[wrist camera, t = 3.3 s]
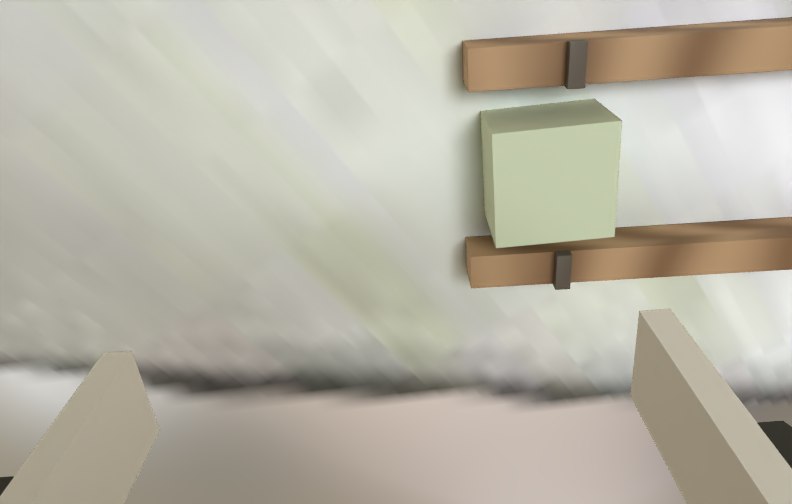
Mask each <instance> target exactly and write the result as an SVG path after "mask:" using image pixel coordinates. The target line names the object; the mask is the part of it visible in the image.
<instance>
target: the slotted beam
mask: <svg viewBox="0 0 792 504" xmlns="http://www.w3.org/2000/svg"><path fill="white" fill-rule="evenodd" d="M781 70H792V17H789V18H775V19H761V20H747V21H733V22H719V23H705V24H691V25H677V26H663V27H649V28H635V29H621V30H607V31H593V32H579V33H565V34H551V35H537V36H523V37H509V38H495V39H481V40H467V41H463V82H464V84H465V86H466V88H467V90H468V92H476V91H490V90H505V89H519V88H534V87H548V86H563V85H565V87H566V88H567V89H578V88H585V84H592V83H606V82H621V81H636V80H650V79H665V78H679V77H694V76H708V75H723V74H737V73H752V72H766V71H781ZM466 268H467V272H468V277H469V281H470V286H471V288H484V287H501V286H518V285H535V284H552V283H553V286H554V288H555V290H559V289H570V282H586V281H603V280H620V279H637V278H653V277H670V276H687V275H704V274H721V273H738V272H755V271H772V270H789V269H792V217H784V218H768V219H752V220H735V221H719V222H703V223H687V224H671V225H654V226H638V227H622V228H615V237H608V238H598V239H587V240H577V241H567V242H556V243H546V244H535V245H525V246H514V247H504V248H496V247H495V244H494V241H493V237H492V236H476V237H466Z"/></svg>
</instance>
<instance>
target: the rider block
mask: <svg viewBox="0 0 792 504" xmlns="http://www.w3.org/2000/svg"><path fill="white" fill-rule="evenodd" d="M480 114H481V137H482V160H483V183H484V206H485V216H486V219H487V222H488V225H489V228H490V231H491V234H492V237H493V241H494V244H495V247H496V248H504V247H514V246H525V245H535V244H546V243H556V242H567V241H577V240H587V239H598V238H608V237H615V223H616V207H617V191H618V176H619V160H620V145H621V129H622V120H621V119H619V118H618V117H617V116H616V115H614V114H613V113H612V112H611V111H609V110H608V109H607V108H606V107H604V106H603V105H602V104H601V103H599V102H598V101H597V100H596V99H587V100H578V101H568V102H559V103H550V104H540V105H531V106H522V107H512V108H503V109H494V110H484V111H480Z"/></svg>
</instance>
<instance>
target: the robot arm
mask: <svg viewBox="0 0 792 504" xmlns="http://www.w3.org/2000/svg"><path fill="white" fill-rule="evenodd" d="M631 398H632V400H633V402H634V404H635V406H636V408H637V410H638V412H639V413H640V415H641V417H642V419H643V421H644V423H645V425H646V427H647V429H648V431H649V433H650V434H651V436H652V438H653V440H654V442H655V444H656V446H657V448H658V450H659V451H660V453H661V455H662V457H663V459H664V461H665V463H666V465H667V467H668V469H669V471H670V473H671V475H672V477H673V478H674V480H675V482H676V484H677V486H678V488H679V490H680V492H681V494H682V496H683V498H684V499H685V501H686V503H687V504H792V427H791V426H790V425H788V424H787V423H785V422H784V421H773V422H759V423H757V422H756V421H755V420H754V419H753V417H752V416H751V414H750V413H749V412H748V411H747V409H746V408H745V407H744V405H743V404H742V403H741V401H740V400H739V399H738V397H737V396H736V395H735V393H734V392H733V391H732V389H731V388H730V387H729V385H728V384H727V383H726V382H725V380H724V379H723V378H722V376H721V375H720V374H719V372H718V371H717V370H716V368H715V367H714V366H713V364H712V363H711V362H710V360H709V359H708V358H707V356H706V355H705V354H704V353H703V351H702V350H701V349H700V347H699V346H698V345H697V343H696V342H695V341H694V339H693V338H692V337H691V335H690V334H689V333H688V331H687V330H686V329H685V328H684V326H683V325H682V324H681V322H680V321H679V320H678V318H677V317H676V316H675V314H674V313H673V312H672V310H671V309H658V310H645V311H639V319H638V329H637V338H636V348H635V357H634V367H633V377H632V386H631ZM159 431H160V430H159V427H158V424H157V421H156V418H155V415H154V413H153V410H152V407H151V404H150V401H149V398H148V396H147V393H146V390H145V387H144V384H143V382H142V379H141V376H140V373H139V370H138V367H137V365H136V362H135V359H134V356H133V353H132V351H122V352H109V353H103V354H102V355H101V357H100V358H99V359H98V361H97V362H96V363H95V365H94V366H93V368H92V369H91V370H90V372H89V373H88V375H87V376H86V377H85V379H84V380H83V382H82V383H81V384H80V386H79V387H78V389H77V390H76V391H75V393H74V394H73V396H72V397H71V398H70V400H69V401H68V403H67V404H66V405H65V407H64V408H63V409H62V411H61V412H60V414H59V415H58V417H57V418H56V419H55V421H54V422H53V423H52V425H51V426H50V428H49V429H48V430H47V432H46V433H45V435H44V436H43V437H42V439H41V440H40V441H39V443H38V444H37V446H36V447H35V448H34V450H33V451H32V453H31V454H30V455H29V457H28V458H27V460H26V461H25V462H24V464H23V465H22V466H21V468H20V469H19V471H18V472H17V473H16V475H15V476H13V477H0V504H124V503H125V501H126V499H127V497H128V495H129V493H130V491H131V489H132V487H133V485H134V483H135V480H136V478H137V476H138V474H139V472H140V470H141V468H142V466H143V464H144V462H145V460H146V458H147V456H148V454H149V452H150V450H151V448H152V445H153V443H154V441H155V439H156V437H157V435H158V433H159Z"/></svg>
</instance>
